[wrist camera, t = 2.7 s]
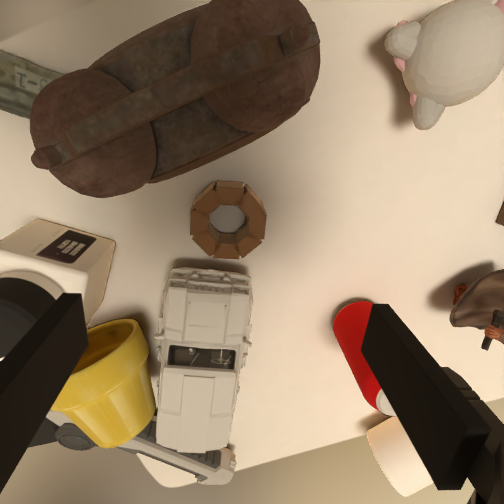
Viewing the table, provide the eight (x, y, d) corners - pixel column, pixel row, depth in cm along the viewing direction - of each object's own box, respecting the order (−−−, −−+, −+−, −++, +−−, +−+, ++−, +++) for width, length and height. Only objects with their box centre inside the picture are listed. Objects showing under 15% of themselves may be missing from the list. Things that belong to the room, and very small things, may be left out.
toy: (474, -36, 29) (359, 49, 27) (573, -98, 23) (435, 5, 20) (498, 54, 32) (397, 139, 30) (592, 21, 26) (474, 126, 23)
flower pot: (157, 452, 30) (111, 363, 27) (56, 479, 31) (2, 395, 28) (182, 378, 40) (150, 308, 37) (105, 400, 41) (68, 333, 38)
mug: (404, 509, 39) (408, 475, 49) (484, 468, 37) (471, 442, 47) (361, 438, 43) (373, 421, 53) (431, 398, 41) (429, 388, 51)
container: (36, 216, 32) (-76, 281, 20) (116, 240, 34) (56, 312, 22) (28, 282, 35) (-74, 372, 23) (103, 301, 36) (42, 395, 25)
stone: (134, 104, 27) (120, 163, 28) (142, 105, 28) (128, 160, 30) (-26, 38, 25) (-29, 104, 27) (-6, 43, 27) (-11, 105, 29)
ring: (193, 178, 32) (190, 185, 29) (265, 183, 32) (269, 190, 30) (193, 245, 34) (190, 257, 32) (259, 248, 35) (261, 260, 32)
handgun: (172, 513, 50) (238, 485, 43) (-31, 447, 39) (15, 396, 32) (179, 474, 54) (240, 444, 47) (-2, 404, 43) (44, 352, 36)
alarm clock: (261, 15, 27) (331, -184, 8) (291, 106, 29) (394, 104, 11) (104, 93, 28) (-127, 68, 10) (148, 171, 31) (32, 265, 13)
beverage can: (327, 339, 41) (364, 425, 30) (333, 296, 38) (375, 372, 27) (375, 338, 41) (428, 422, 30) (384, 295, 39) (446, 370, 28)
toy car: (260, 261, 36) (271, 315, 26) (236, 397, 43) (238, 475, 34) (164, 251, 34) (141, 304, 25) (158, 393, 42) (138, 472, 33)
